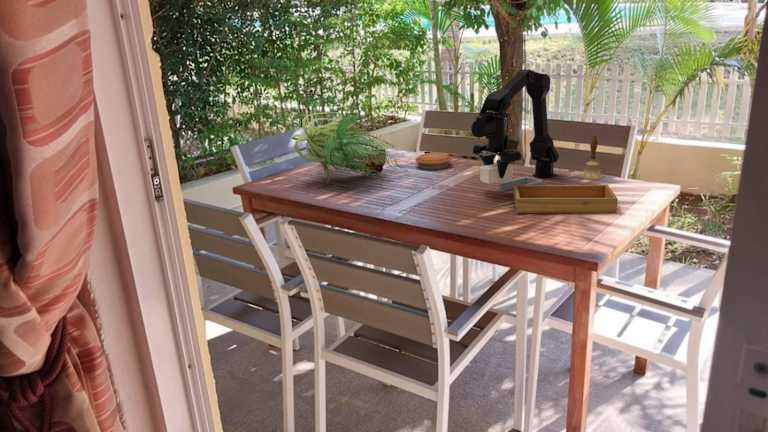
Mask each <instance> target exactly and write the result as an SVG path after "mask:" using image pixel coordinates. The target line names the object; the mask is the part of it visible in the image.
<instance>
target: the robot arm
mask: <svg viewBox="0 0 768 432" xmlns="http://www.w3.org/2000/svg"><path fill="white" fill-rule="evenodd" d="M524 87H525V91H526V93H527V94H528V96H529V98H531V106H532V117H533V120H532V121H533V133H534V136H533V138H532V140H531V141H530V142H529V152H530V154H531V155H530V156H531V160H532V161H535V166H534V168H535V173H533V174H532V176H534V177H537V178H541V179H550V178H552V177H556V176H557V174H556V173H554V168H555V167H554V165H555V163H556V162H557V161H558V160H559V157H560V155H559V153H558V151H557V149H556V148H555V144H554V140H553V139H552V137H551V136H550V134H549V125H548V113H547V112H548V109H547V108H548V107H547V95H548V93H549V92H550V90H551V89H550V88H551V78H550V76H549V75H548V74H547V73H540V72H537V71H534V70H532V69H526V68H525V69H522V68H521V69H518V71H517V73H516V74H515V75H514V76H513V77H512V78H511V79H510V80H509V81H508V82H507V83H506V84H505V85H504V86H503V87H501V88H500V89H498V90H495V91H492V92H490V93H489V94H488V95H486V97H485V99H484V101H483V104H482V107H481V109H480V111H479V113H478V115H477V116H476V119H475V121H474V122H472V125H471V134H472V135H473V136H474V137H476V138H478V139H481V138H485V139H486V140H487V143H486V142H483V143H479V144H475V145H474V146H473V147H472V154H475V155H478V157H479V158H480V160H481V162H482V163H483V166H486V165H491V164H495V163H494V161H495V158H496V156H498V157H500V159H496V161H495V162H496V163H497V167H498V172H499V176H500V178H501V179H502V178H503V177H504V175H505V172H506V169H507V167H508V165H509V164H511V163H512V162H517V161H521V160H522V153H521V152H520V151H519V150H518V147H519V143H520V142H519V141H517V140H513V139H509V135H508V134H506V118H509V114H508V113H507V111H508V109H509V108H510V106H511V105H512V100H513V98H514V97H516V95H518V94H519V93H520V92H521V90H522V89H523V88H524Z"/></svg>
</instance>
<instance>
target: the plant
mask: <svg viewBox="0 0 768 432" xmlns="http://www.w3.org/2000/svg"><path fill="white" fill-rule="evenodd" d="M352 110H353V109H351V110H350V109H349V111H352ZM345 112H347V111H344V113H345ZM339 113H340V114H339ZM341 113H342V111H340V112H339V111H337V112H336V111H335V112H334V111H333V112H332V111H330V112H329V111H323V112H321V111H320V112H313V113H309V114H307V115H305V116H304V117H303V119H302V122H301V123H302V124H301V125H302V126H301V127H302V129H303V132H304V134H300V133H299V134H294V135H292V137H291V140H292V141H295V144H294V147H295V148H294V149H295V151H296V153H297V154H298V155H299V156H300V157H301V158H302V159H303V160H305V161H306V162H307V163H309V165H310V166H313V163H316V164H315V166H319V167H322V168H323V169H320V171H321V172H319V173H317V175H323V174H326V175H324V177H325V178H328V179H327V181H326V183H328V182H329V181H331V180H332V174H333V173H341V174H343V172H344V174H345V176H344V177H345V178H347V176H348V175H350V174H351V173H352V174H351V176H353V175H354V174H356V173H357V174H358V177H360V176H361V175H360V174H362V175H366V177H368V178H370V176H369V175H370V174H371V176H373V177H374V178H375V179H377V180H378V181H379V180H380V182H383V180H385V181H386V182H388V180H387V179H386V178H388V179H390V177H389V176H387V174H386V173H382V171H383V170H384V166H385V167H386V168H392V169H393V170H398V168H399V169H400V170H403V171H406V172H408V170H407V169H405V168H403V167H401V166H402V165H403V160H401V159H400V158H401V157H403V155H404V153H405V152H400V153H398V152H396V155H399V156H398V158H397V156H392V155H393V151H389V150H388V149H389V148H390V147H393V148H394V145H393V144H394V142H390V141H389V142H388V141H387V140H388V139H386V138H385V137H382V138H381V134H379V136H378V134H376V135H375V136H374V135H371V132H368V130H367V125H363V123H362V122H360V121H361V120H362V118H361V117H359V116H357V115H355V114H353V115H349V116H348V115H347V116H345V117H343V118H342V114H341ZM323 114H338V115H337V116H336V117H335V118H327V117H317V118H313V119H311V120H310V121H309V123H308V126H307V125H306V121H307V118H309V117H310V116H314V115H316V116H317V115H323ZM322 120H323V121H324V120H328V121H329V120H330V121H331V120H332V121H336V122H335V123H334V122H333V123H327V124H323V125H318V126H313V123H315V122H316V121H322ZM359 120H360V121H359ZM339 121H340V122H339ZM355 124H357V125H358V126H360V128H359V127H355V126H354V125H355ZM306 126H307V127H306ZM361 127H362V128H361ZM372 134H375V133H374V132H372ZM299 141H301V142H305V141H306V143H305V144H306V146H305V147H306V148H305V151H306V153H307V155H308V156H309V157H307V156H305V155H304V153H302V152H301V150H300V149H299V146H298V145H299ZM384 143H385V144H386V145H385V144H384ZM388 145H389V146H388ZM395 147H399V145H398V144H397V145H395ZM390 152H391V153H390ZM400 154H401V155H400ZM387 157H389V158H387ZM411 157H413V156H412V155H411V156H410V158H409V159H407V160H405V163H406V162H409V161H410V162H409V163H408V164H406V166H409V165H410V164H411V163H412V162H413V161H412V160H415V158H414V157H413V158H411ZM392 159H393V160H392ZM298 162H300V163H301V162H302V161H299V160H298ZM401 162H402V163H401ZM390 163H391V164H392V165H391V164H390ZM398 163H400V165H399V164H398ZM318 164H319V165H318ZM397 167H398V168H397ZM331 168H333V169H334V171H332V169H331ZM359 173H360V174H359ZM312 175H313V176H314V175H315V173H314V174H311V176H312ZM303 176H306V174H305V175H303ZM333 180H334V178H333ZM334 184H335V183H333V185H332V187H334Z"/></svg>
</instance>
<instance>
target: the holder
mask: <svg viewBox="0 0 768 432" xmlns="http://www.w3.org/2000/svg"><path fill="white" fill-rule="evenodd" d="M498 184H499V185H498V187H499V189H498V191H499V192H501V193H502V192H505V190H506V191H509V189H510V190H513V194H512V195H514V185H544V180H541V179H537V178H534V177H531V176H527V175H526V176H522V177H517V178H513V179H510V180H505V181H500V182H498Z"/></svg>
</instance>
